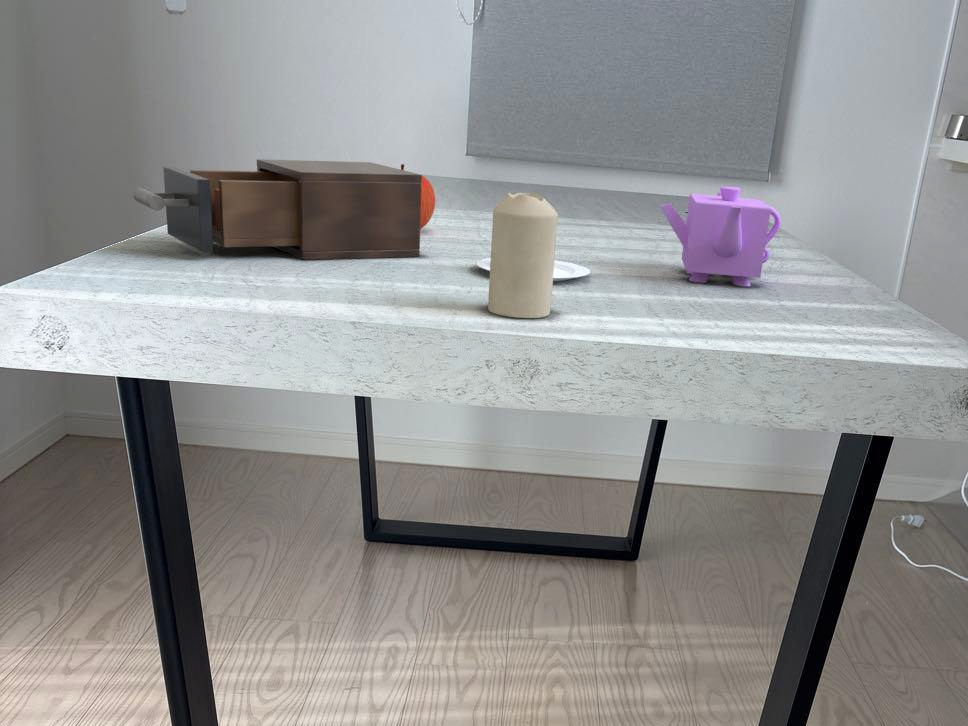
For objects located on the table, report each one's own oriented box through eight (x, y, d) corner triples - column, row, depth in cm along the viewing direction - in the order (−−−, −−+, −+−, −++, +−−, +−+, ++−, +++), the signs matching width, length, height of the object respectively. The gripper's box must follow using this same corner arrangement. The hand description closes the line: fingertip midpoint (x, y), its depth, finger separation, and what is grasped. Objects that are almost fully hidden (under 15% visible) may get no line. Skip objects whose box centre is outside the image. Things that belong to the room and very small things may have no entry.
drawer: (160, 253, 101) (155, 178, 99) (129, 234, 110) (123, 165, 107) (321, 249, 110) (320, 181, 107) (280, 232, 119) (279, 169, 116)
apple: (431, 237, 130) (433, 169, 127) (366, 232, 130) (366, 163, 127) (437, 228, 137) (439, 164, 134) (374, 224, 137) (375, 159, 134)
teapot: (650, 260, 126) (660, 174, 122) (760, 270, 125) (774, 184, 122) (655, 287, 109) (667, 188, 105) (782, 298, 109) (799, 200, 105)
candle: (545, 321, 90) (554, 199, 86) (482, 314, 91) (488, 193, 87) (554, 309, 95) (563, 193, 91) (494, 303, 96) (500, 187, 92)
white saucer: (467, 262, 115) (469, 221, 113) (573, 266, 118) (577, 226, 116) (486, 283, 105) (488, 238, 103) (602, 287, 107) (606, 243, 106)
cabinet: (302, 259, 109) (301, 172, 105) (259, 240, 118) (256, 159, 115) (419, 256, 116) (422, 174, 113) (370, 238, 125) (370, 162, 122)
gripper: (133, -146, 102) (143, 13, 108) (124, -188, 84) (136, 5, 90) (201, -137, 104) (207, 19, 109) (207, -175, 86) (214, 13, 92)
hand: (175, 13), depth 100 cm, fingers open, 8 cm apart
